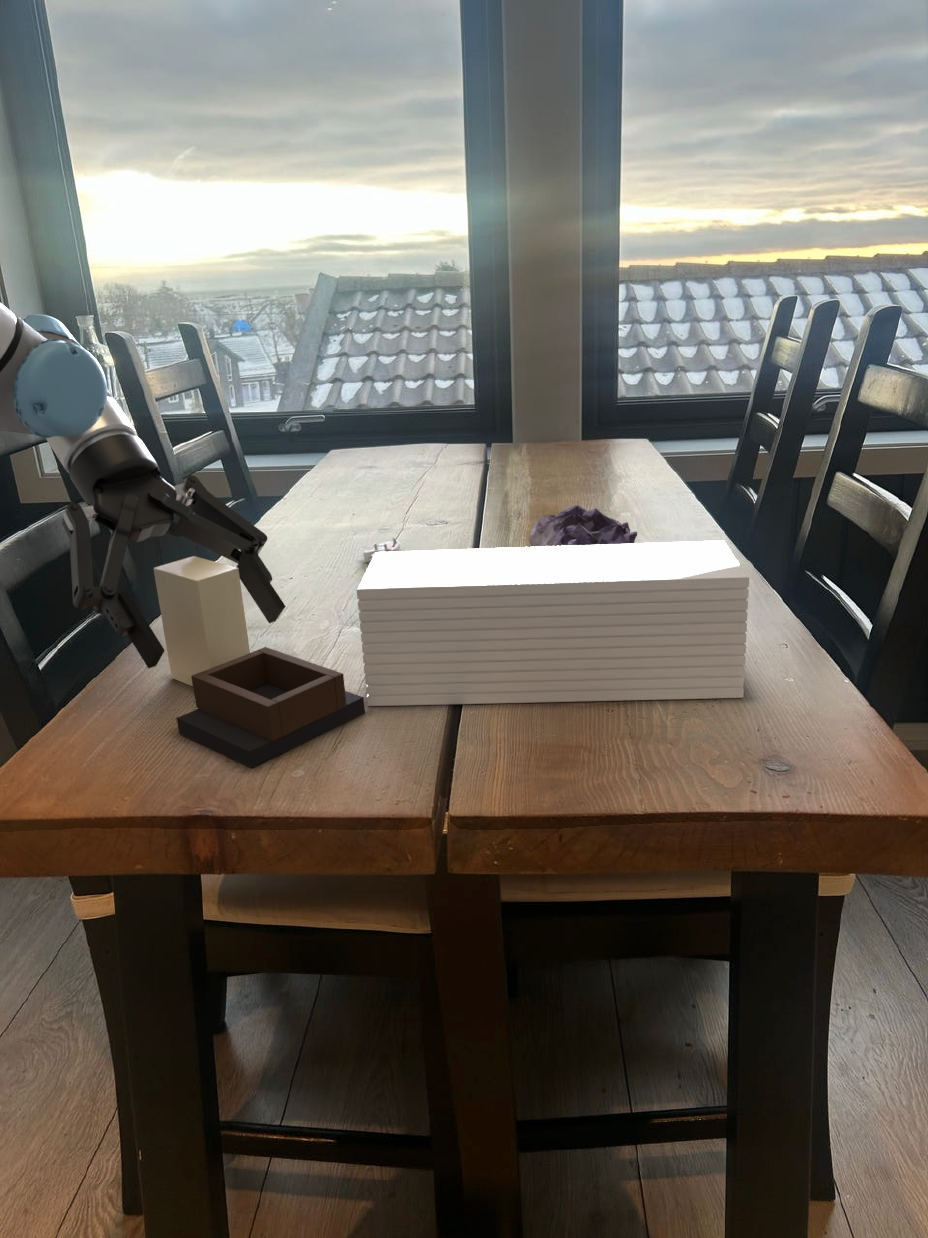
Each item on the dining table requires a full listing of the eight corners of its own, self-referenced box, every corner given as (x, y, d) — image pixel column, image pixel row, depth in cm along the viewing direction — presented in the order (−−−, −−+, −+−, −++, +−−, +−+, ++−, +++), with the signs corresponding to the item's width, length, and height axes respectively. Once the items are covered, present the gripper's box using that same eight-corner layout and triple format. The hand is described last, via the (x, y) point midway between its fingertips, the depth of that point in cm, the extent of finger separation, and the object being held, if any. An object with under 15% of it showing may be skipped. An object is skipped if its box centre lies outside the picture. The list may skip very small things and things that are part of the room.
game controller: (362, 556, 130) (360, 536, 129) (449, 547, 132) (448, 528, 131) (366, 568, 124) (365, 548, 123) (457, 559, 126) (456, 539, 125)
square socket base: (253, 769, 77) (245, 716, 76) (177, 733, 84) (169, 684, 82) (366, 713, 85) (362, 665, 84) (289, 684, 92) (284, 639, 90)
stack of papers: (367, 706, 87) (356, 589, 83) (384, 658, 97) (374, 552, 93) (743, 698, 84) (749, 576, 81) (720, 650, 94) (724, 540, 90)
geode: (678, 618, 103) (669, 527, 99) (570, 644, 102) (556, 553, 98) (618, 556, 121) (608, 477, 117) (526, 577, 120) (513, 498, 116)
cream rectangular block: (214, 696, 90) (197, 580, 87) (171, 678, 95) (152, 567, 91) (254, 679, 93) (238, 567, 90) (210, 663, 98) (193, 555, 94)
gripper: (201, 457, 106) (308, 618, 102) (-31, 508, 90) (85, 703, 85) (224, 410, 101) (338, 577, 97) (-18, 454, 84) (107, 659, 80)
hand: (220, 636), depth 91 cm, fingers open, 12 cm apart
